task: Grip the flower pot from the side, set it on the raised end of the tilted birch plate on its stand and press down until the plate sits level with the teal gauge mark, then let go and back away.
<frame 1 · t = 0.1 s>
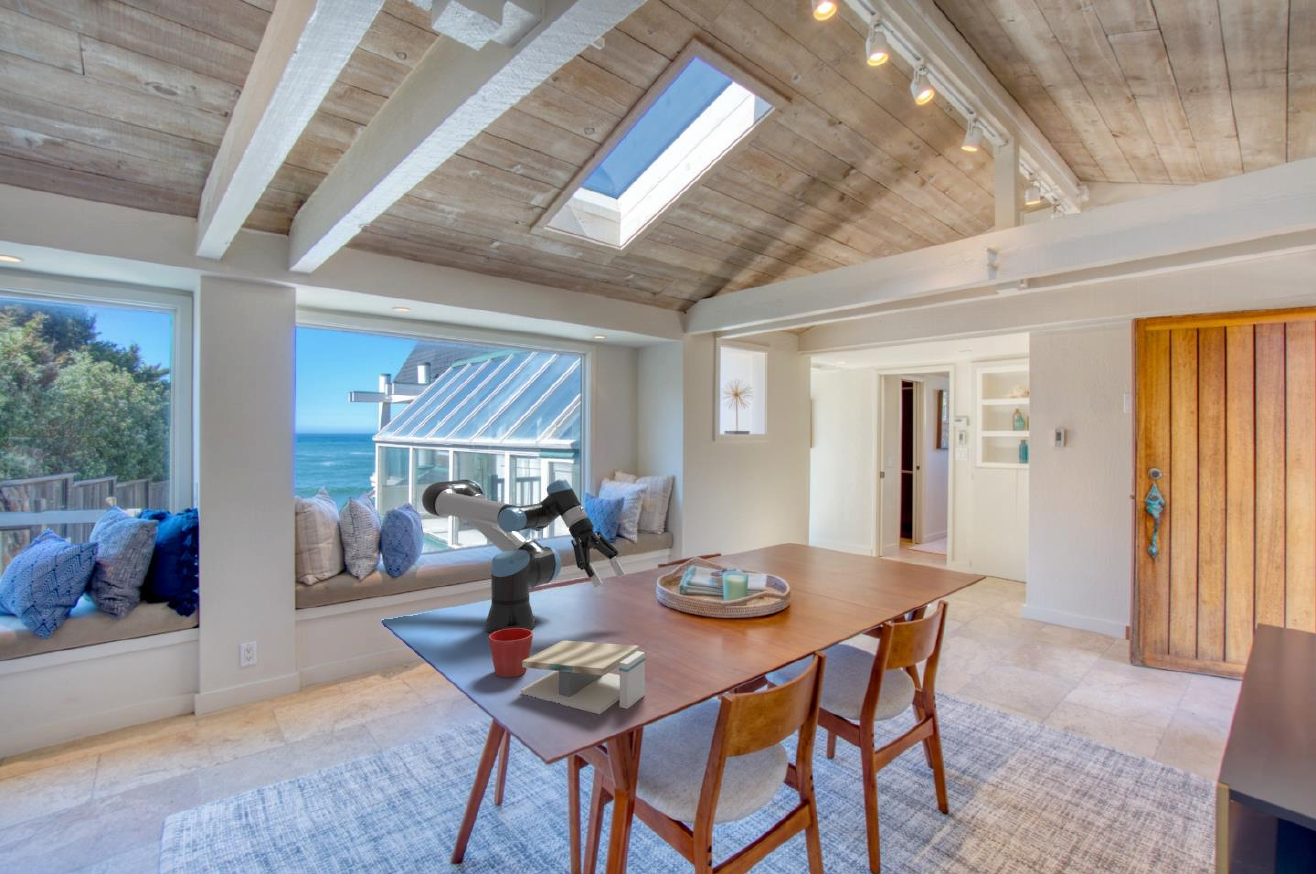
hand: (610, 580, 186), 15 cm above the table, tool tilted 35°, fingers open, 13 cm apart
flower pot: (510, 672, 153), on the table
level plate: (581, 656, 143), point 8 cm above the table, hinge at -6.0°
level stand: (581, 688, 143), on the table
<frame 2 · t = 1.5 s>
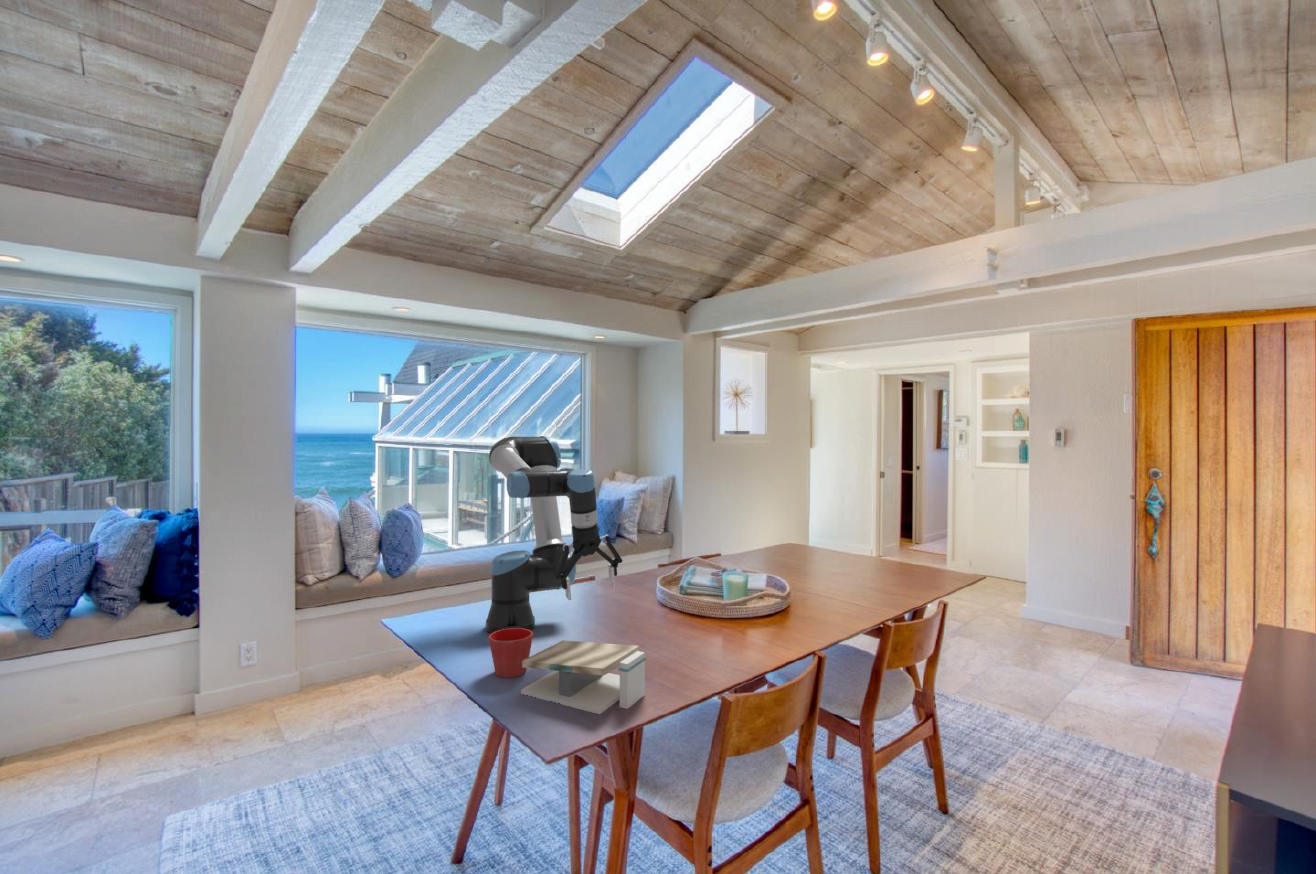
hand: (590, 592, 174), 15 cm above the table, tool pointing down, fingers open, 13 cm apart
nothing on the table moved.
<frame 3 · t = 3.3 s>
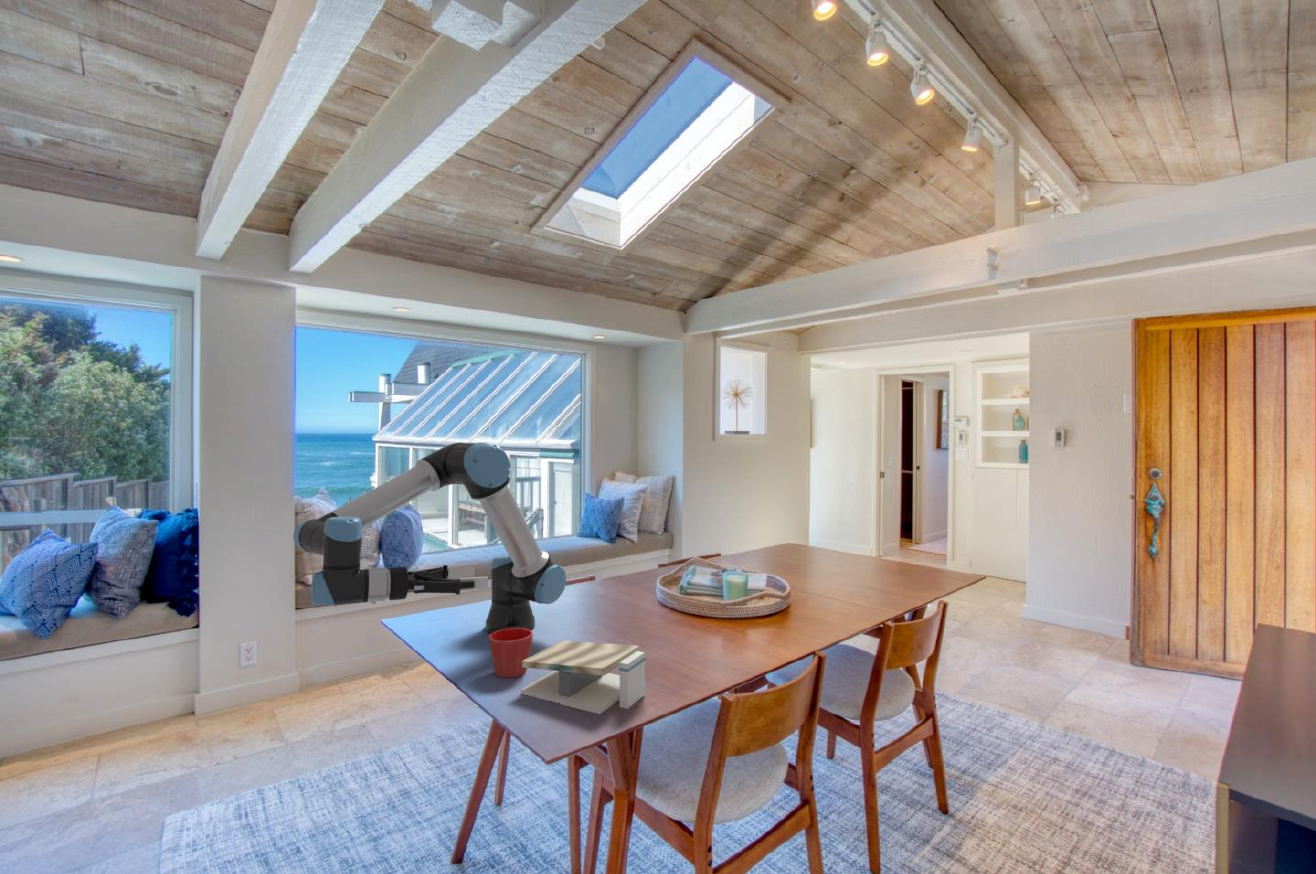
hand: (480, 576, 149), 25 cm above the table, tool horizontal, fingers open, 13 cm apart
nothing on the table moved.
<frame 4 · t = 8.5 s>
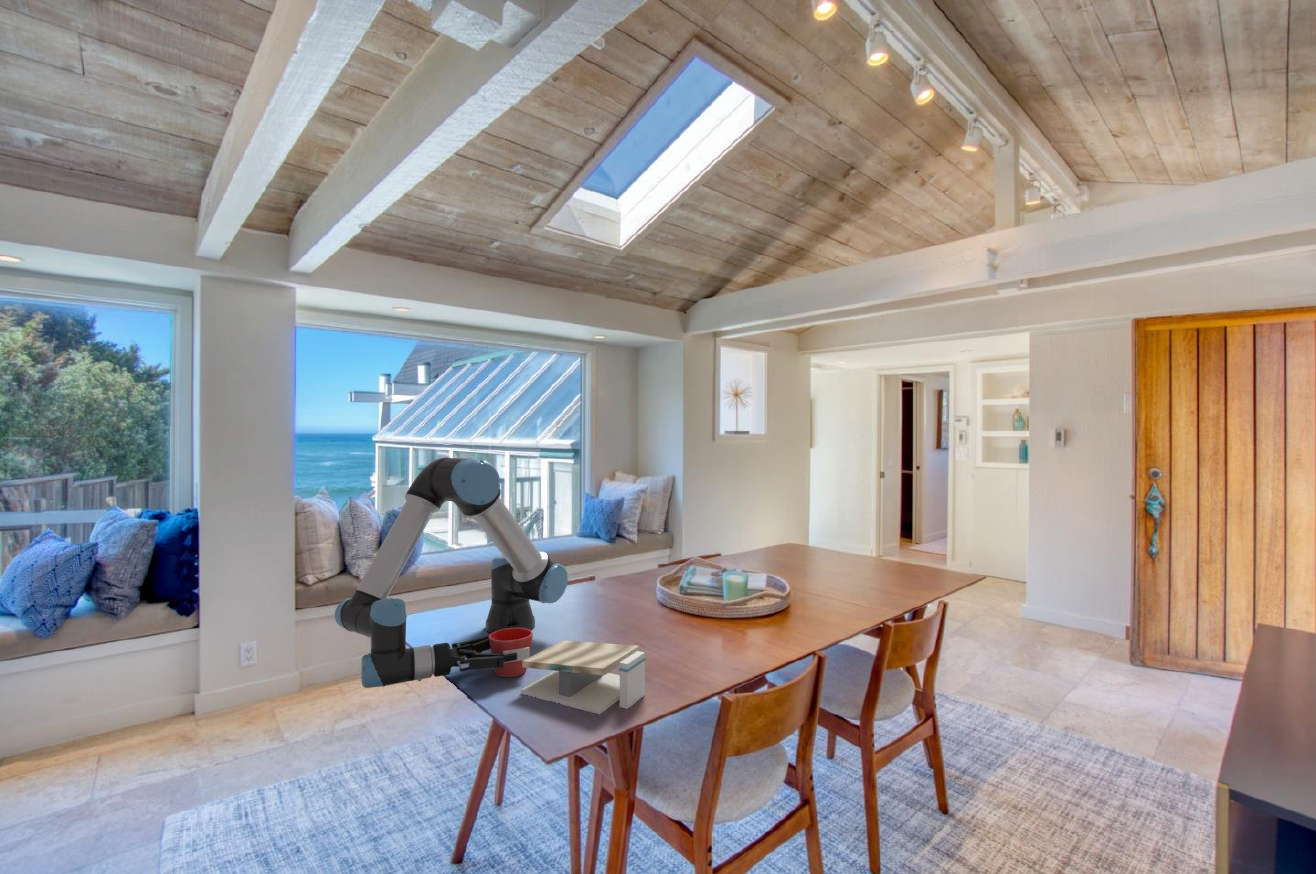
hand: (523, 646, 154), 6 cm above the table, tool horizontal, fingers closed on flower pot, 10 cm apart
flower pot: (510, 672, 153), on the table, touching gripper
everything else where it was.
when the fingers open (15 cm above the table, at t = 14.6 s): flower pot stays where it is, resting on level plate.
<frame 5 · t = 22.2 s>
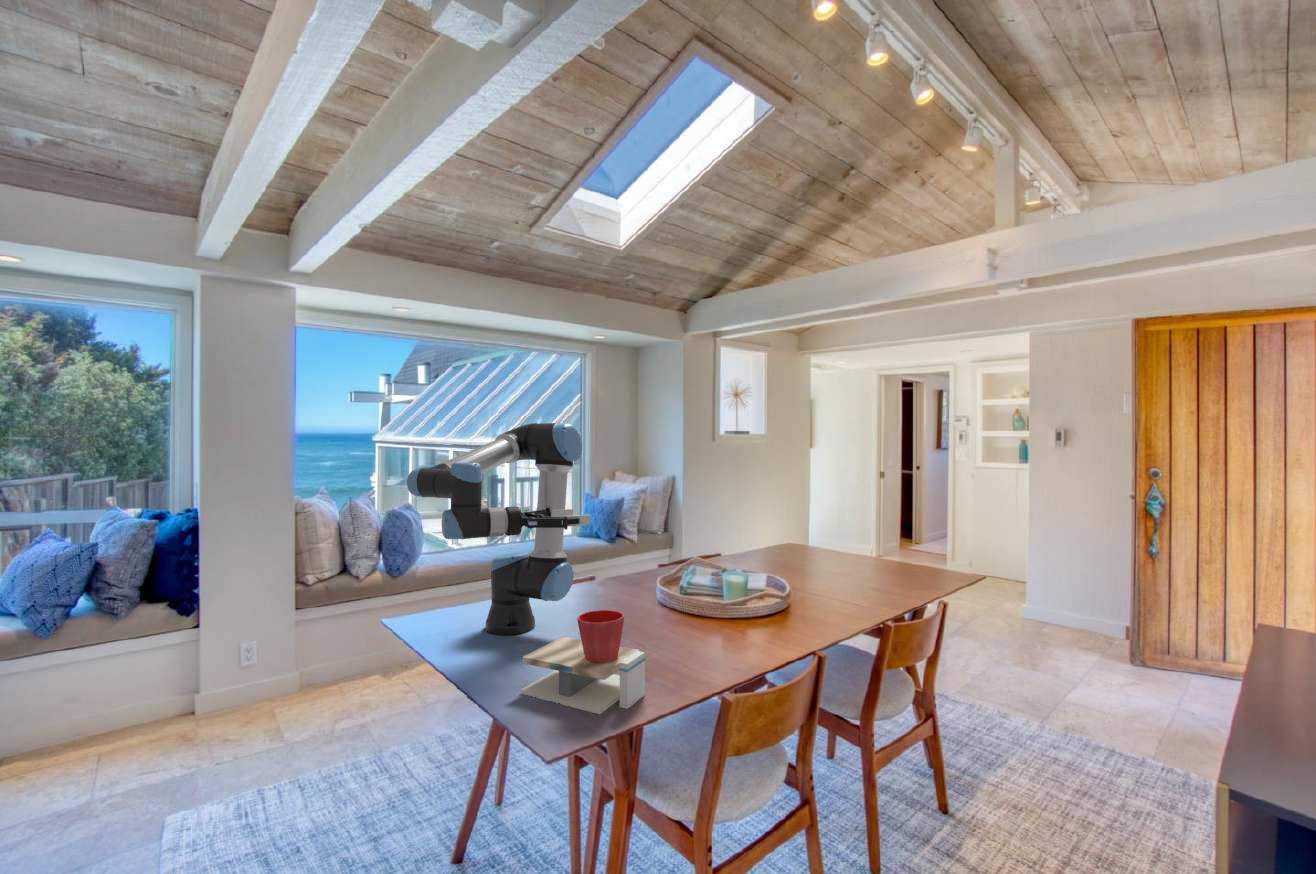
hand: (581, 516, 167), 38 cm above the table, tool horizontal, fingers open, 13 cm apart
flower pot: (601, 658, 140), point 8 cm above the table, touching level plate
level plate: (581, 656, 142), point 8 cm above the table, hinge at -1.1°, touching flower pot
at the end: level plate at -1° (first picture: -6°); flower pot inside the target area on the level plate (0.4 cm from its centre), point 1.4 cm above the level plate's base; flower pot tilted 1° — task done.
